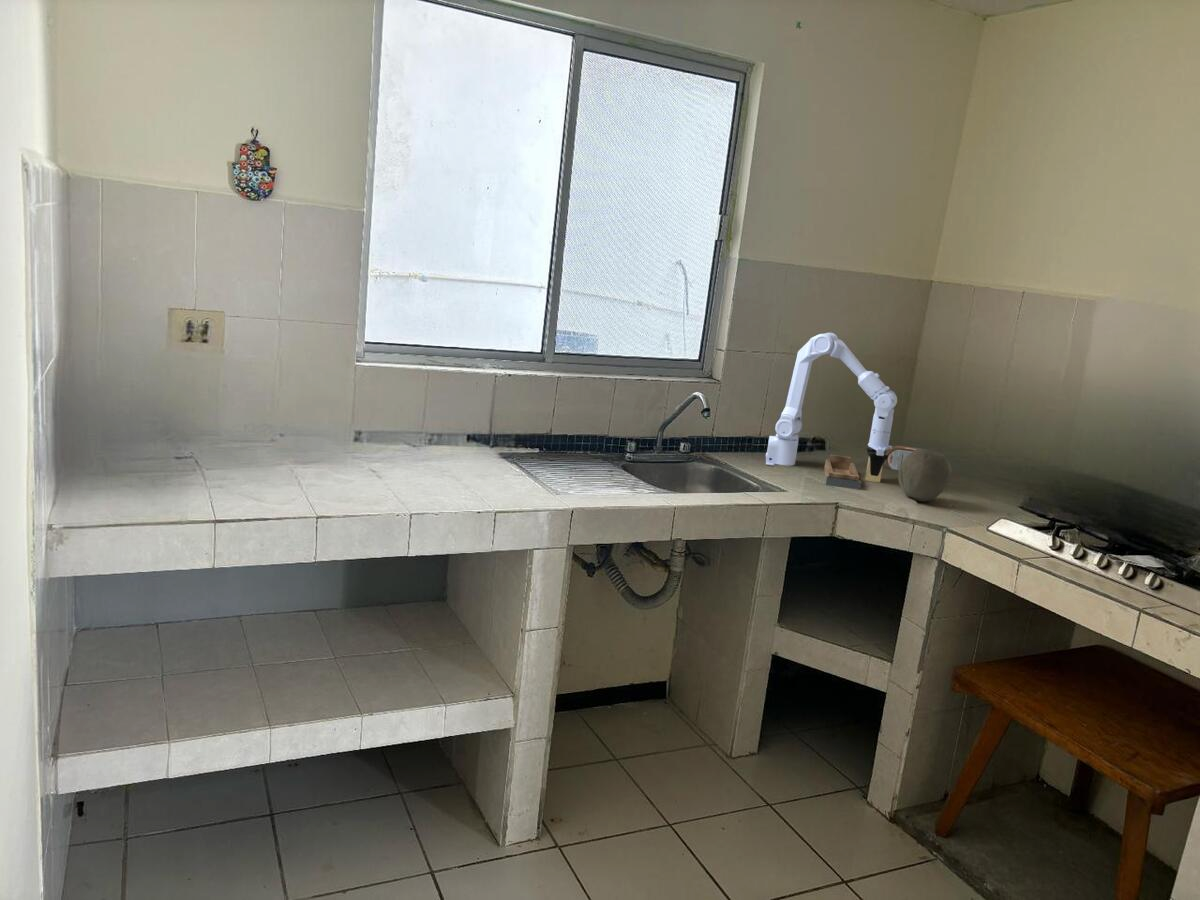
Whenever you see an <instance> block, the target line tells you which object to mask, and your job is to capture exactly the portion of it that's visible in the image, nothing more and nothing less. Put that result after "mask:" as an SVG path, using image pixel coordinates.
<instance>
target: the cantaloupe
mask: <svg viewBox="0 0 1200 900" xmlns="http://www.w3.org/2000/svg"><path fill="white" fill-rule="evenodd" d="M897 474H898V475H897V477H898V478H897V479H898V483H899V486H900V489H901V491H902V492H903V493H904V494H905V495H906V496H907V497H909V498H911V499H913V500H914V501H916V502H921V503H922V502H928V501H931V500H934V499H936V498H937V497H938V496H940V495H941V494H942V493H943V492H944V490H945V489H946V488H947V486H948V484H949V483H950V481H951V478H952V474H953V469H952V466H951V463H950V461H949V459H948V458H947V457H946V456H945V454H943V453H941V452H939V451H937V450H933V449H930V448H929V449H928V448H921V449H917V450H914V451H912V452H911V453H910V454H908V455H907V457H906V458H905V459H904V460H903V462H902V464H901V466H900V469H899V471H898V473H897Z"/></svg>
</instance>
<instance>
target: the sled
mask: <svg viewBox="0 0 1200 900" xmlns="http://www.w3.org/2000/svg"><path fill="white" fill-rule="evenodd" d="M823 469H824V473H825V474H824V475H825V477H826V476H830V477H837V478H845V479H852V480H859V479H860V476H859V472H858V470H857V467H856V465H855V463H854V461H851V457H850V456H845V455H836V454H830V455H829V458H825V461H824V467H823ZM859 481H860V480H859Z"/></svg>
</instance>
